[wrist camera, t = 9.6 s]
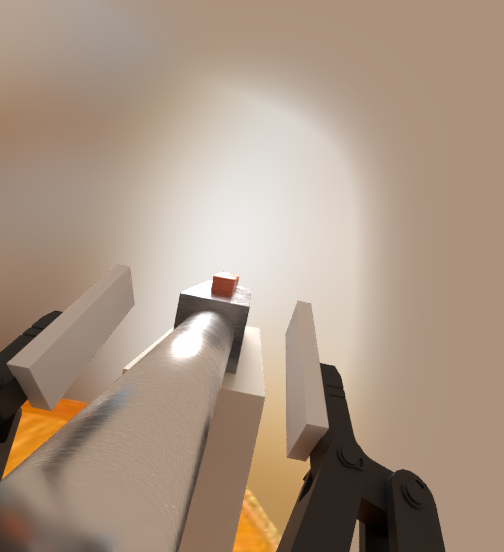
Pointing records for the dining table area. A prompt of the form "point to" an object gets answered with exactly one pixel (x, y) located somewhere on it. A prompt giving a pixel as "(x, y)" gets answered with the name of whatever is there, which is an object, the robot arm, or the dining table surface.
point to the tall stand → (225, 452)
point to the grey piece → (132, 442)
